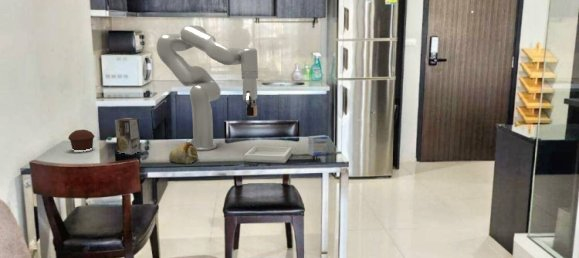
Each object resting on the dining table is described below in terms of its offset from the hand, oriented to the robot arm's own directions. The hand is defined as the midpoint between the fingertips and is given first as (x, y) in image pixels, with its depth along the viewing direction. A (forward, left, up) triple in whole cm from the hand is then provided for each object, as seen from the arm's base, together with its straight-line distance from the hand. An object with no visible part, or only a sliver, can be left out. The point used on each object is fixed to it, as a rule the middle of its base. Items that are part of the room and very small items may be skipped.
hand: (251, 114), depth 234 cm
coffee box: (-57, -10, -18) cm, 61 cm away
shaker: (0, 0, -1) cm, 1 cm away
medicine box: (+31, +2, -18) cm, 36 cm away
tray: (+10, -8, -18) cm, 22 cm away
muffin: (-81, -10, -18) cm, 84 cm away
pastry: (-26, -20, -19) cm, 38 cm away
